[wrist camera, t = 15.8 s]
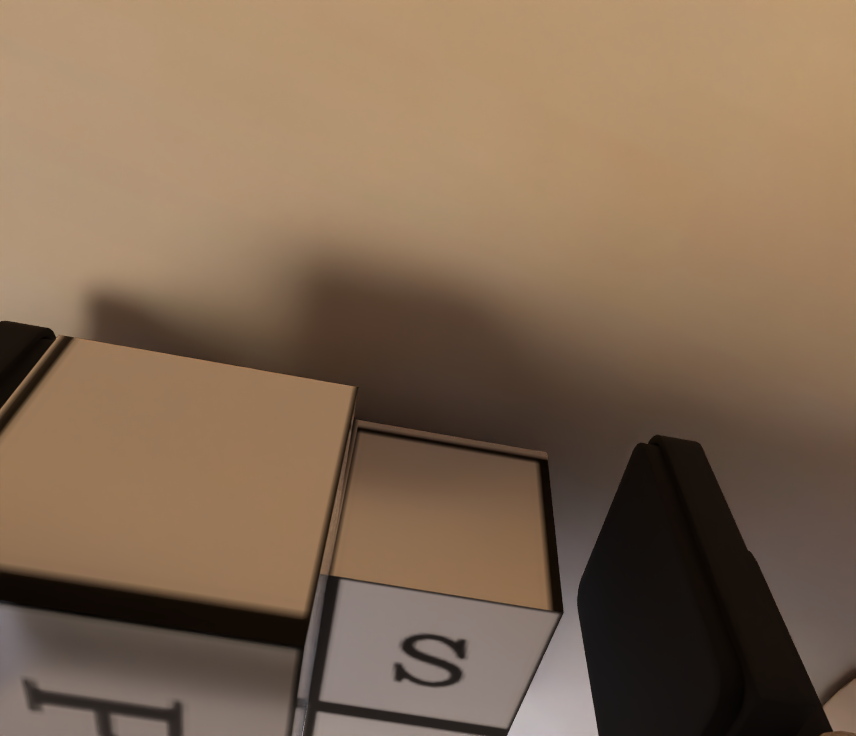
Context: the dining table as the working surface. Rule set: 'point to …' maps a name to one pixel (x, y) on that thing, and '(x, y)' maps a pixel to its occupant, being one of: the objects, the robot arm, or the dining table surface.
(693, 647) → the robot arm
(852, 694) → the water bottle
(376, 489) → the building blocks
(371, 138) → the dining table surface
